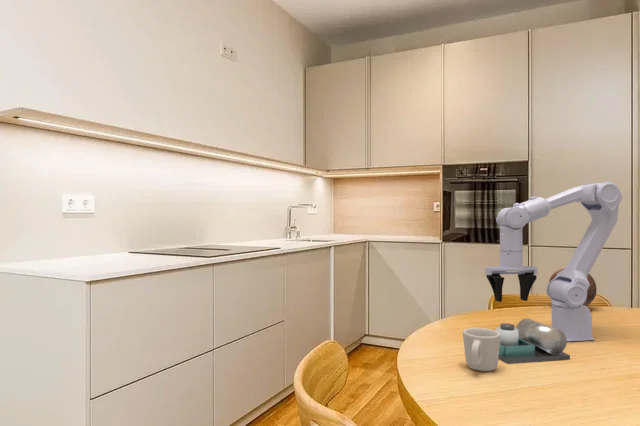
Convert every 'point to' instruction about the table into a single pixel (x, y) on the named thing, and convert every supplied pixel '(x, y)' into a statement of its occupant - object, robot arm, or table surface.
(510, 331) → the grey capped cylinder
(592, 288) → the wooden sphere
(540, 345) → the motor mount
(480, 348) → the cup
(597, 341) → the table surface
